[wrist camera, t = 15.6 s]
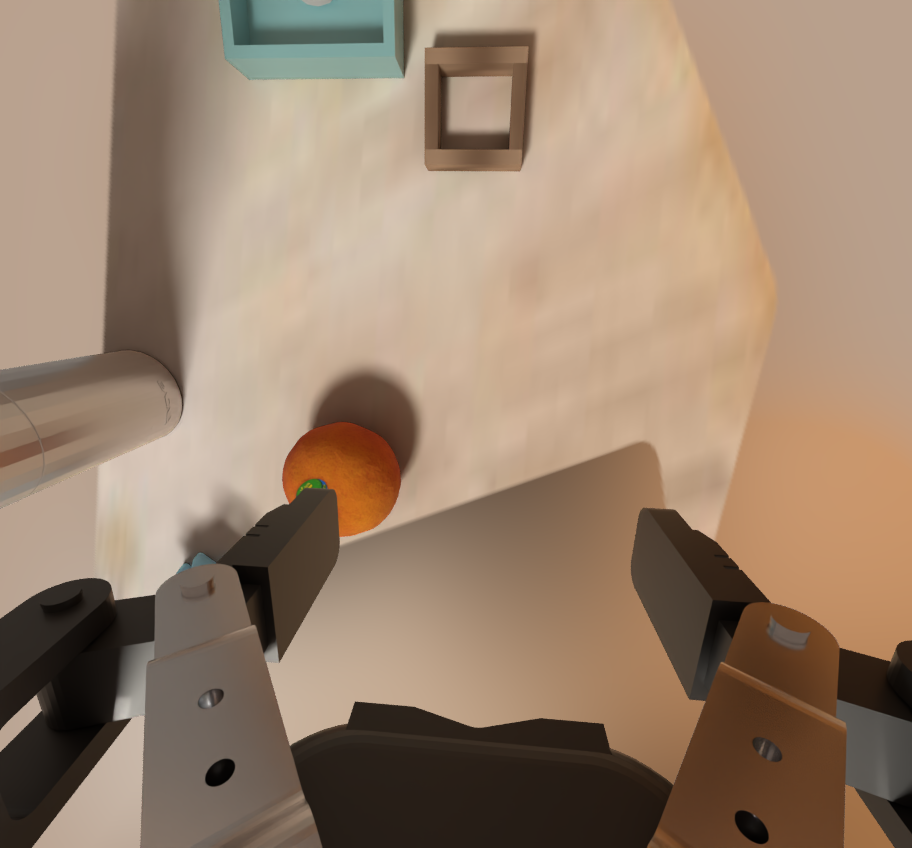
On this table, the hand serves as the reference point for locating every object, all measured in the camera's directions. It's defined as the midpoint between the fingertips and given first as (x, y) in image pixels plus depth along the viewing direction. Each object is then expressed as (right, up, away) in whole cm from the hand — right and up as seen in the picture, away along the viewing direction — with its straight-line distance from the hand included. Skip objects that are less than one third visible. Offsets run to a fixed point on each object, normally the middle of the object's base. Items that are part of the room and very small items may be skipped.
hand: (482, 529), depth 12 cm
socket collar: (+1, +27, +23) cm, 36 cm away
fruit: (-11, -1, +33) cm, 35 cm away
